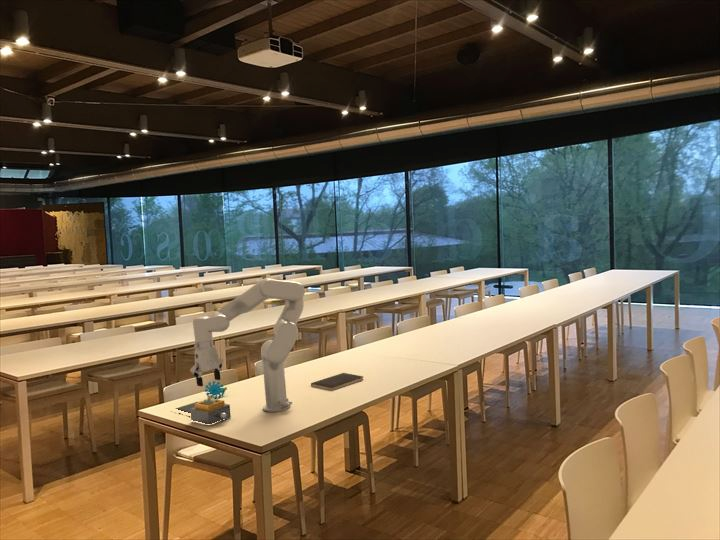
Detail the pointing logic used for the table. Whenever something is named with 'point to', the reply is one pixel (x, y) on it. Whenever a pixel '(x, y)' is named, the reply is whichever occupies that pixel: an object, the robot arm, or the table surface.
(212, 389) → the gear
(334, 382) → the hardcover book
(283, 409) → the robot arm
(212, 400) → the spout can
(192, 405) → the dark grey flat slab
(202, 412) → the box
